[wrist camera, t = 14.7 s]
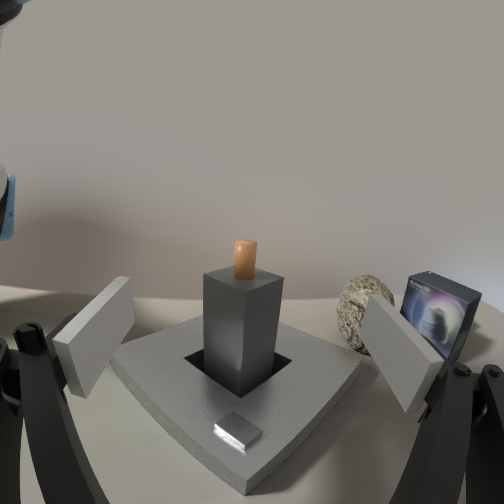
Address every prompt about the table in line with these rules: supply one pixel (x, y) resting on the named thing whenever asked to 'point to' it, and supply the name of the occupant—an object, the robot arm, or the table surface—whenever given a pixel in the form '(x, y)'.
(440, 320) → the small box
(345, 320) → the stone
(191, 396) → the socket
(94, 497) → the robot arm
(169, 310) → the table surface
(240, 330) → the plug
